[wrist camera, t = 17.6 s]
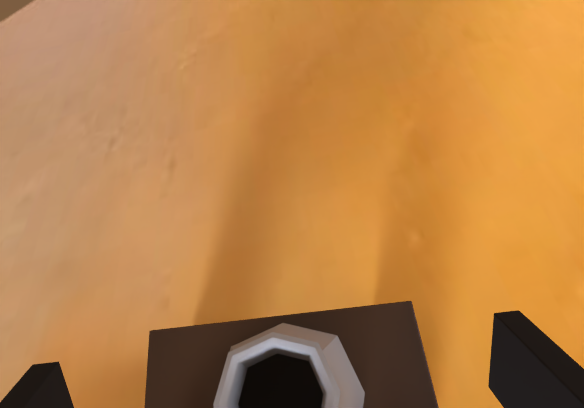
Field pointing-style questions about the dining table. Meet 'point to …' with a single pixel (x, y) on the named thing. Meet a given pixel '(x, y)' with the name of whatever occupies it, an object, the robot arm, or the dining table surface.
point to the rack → (342, 322)
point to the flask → (289, 372)
